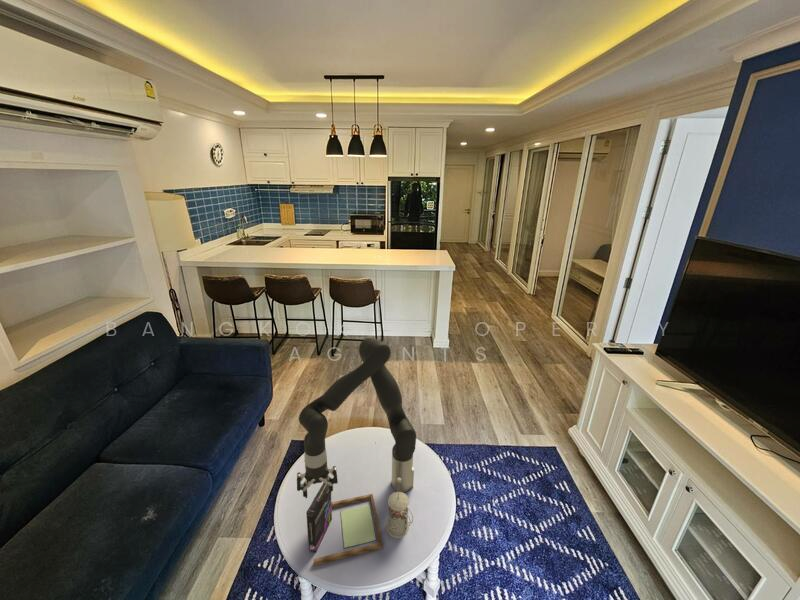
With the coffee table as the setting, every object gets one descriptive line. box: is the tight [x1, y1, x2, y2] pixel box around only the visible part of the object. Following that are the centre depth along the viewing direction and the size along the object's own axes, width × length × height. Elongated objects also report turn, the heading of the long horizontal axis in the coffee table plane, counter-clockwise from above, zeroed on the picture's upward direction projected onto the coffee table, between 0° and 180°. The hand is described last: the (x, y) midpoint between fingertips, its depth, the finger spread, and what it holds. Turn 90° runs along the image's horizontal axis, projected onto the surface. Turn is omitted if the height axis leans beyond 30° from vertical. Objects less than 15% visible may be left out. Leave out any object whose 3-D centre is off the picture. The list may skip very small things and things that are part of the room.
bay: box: [313, 493, 384, 567], centre depth 129 cm, size 25×22×2 cm
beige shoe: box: [385, 478, 414, 539], centre depth 125 cm, size 10×12×25 cm
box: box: [305, 482, 333, 553], centre depth 123 cm, size 14×4×20 cm, turn 166°
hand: (318, 493), depth 120 cm, fingers open, 8 cm apart
